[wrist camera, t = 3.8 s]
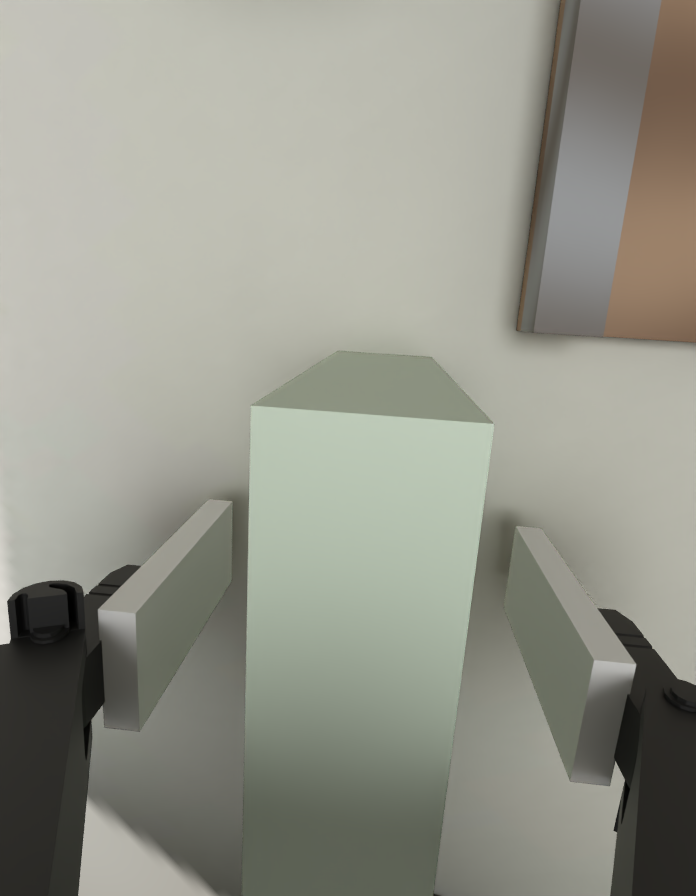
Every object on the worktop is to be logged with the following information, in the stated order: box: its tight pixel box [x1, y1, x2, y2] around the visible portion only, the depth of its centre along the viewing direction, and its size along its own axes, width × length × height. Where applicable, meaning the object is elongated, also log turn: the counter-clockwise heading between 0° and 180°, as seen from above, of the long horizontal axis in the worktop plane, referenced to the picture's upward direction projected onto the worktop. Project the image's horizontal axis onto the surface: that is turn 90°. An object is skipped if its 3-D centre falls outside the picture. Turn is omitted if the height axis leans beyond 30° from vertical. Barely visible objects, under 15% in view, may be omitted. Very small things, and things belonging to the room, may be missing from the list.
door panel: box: [242, 351, 494, 896], centre depth 13 cm, size 12×3×11 cm, turn 177°
